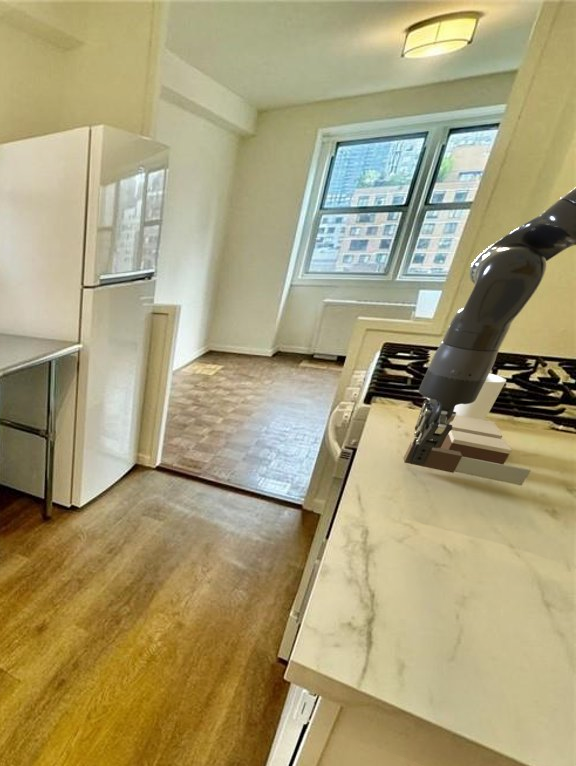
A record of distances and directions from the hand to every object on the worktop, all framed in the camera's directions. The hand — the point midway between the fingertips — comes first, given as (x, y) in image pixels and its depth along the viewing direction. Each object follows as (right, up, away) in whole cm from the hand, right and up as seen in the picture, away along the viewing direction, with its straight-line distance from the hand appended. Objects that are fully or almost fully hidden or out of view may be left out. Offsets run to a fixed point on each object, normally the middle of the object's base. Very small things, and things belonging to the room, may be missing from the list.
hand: (415, 459), depth 90 cm
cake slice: (+13, -1, +3) cm, 13 cm away
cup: (+29, +10, +23) cm, 38 cm away
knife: (+5, -2, -2) cm, 6 cm away
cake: (+18, +3, +9) cm, 20 cm away
